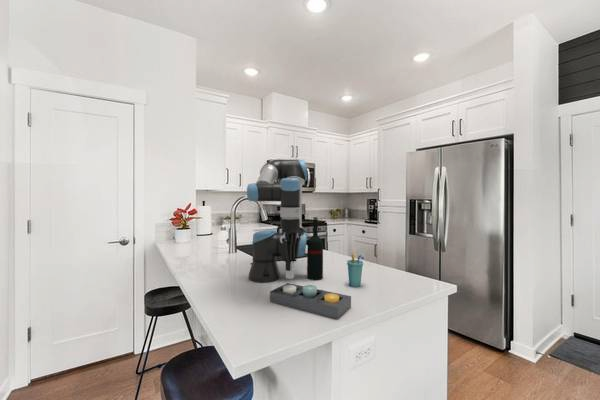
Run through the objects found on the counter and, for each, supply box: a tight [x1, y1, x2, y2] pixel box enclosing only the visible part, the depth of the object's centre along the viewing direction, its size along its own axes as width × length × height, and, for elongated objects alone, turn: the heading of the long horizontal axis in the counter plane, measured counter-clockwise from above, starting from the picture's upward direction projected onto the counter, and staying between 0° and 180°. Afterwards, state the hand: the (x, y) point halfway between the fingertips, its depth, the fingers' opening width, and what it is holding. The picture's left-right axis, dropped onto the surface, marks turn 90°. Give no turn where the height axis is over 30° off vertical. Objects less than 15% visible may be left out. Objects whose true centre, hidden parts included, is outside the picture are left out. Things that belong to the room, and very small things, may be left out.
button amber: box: [324, 293, 339, 303], centre depth 100 cm, size 5×5×4 cm
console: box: [269, 282, 352, 320], centre depth 104 cm, size 28×12×4 cm, turn 59°
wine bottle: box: [306, 216, 324, 281], centre depth 138 cm, size 8×10×30 cm
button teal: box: [302, 284, 318, 298], centre depth 104 cm, size 5×5×4 cm
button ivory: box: [283, 284, 296, 293], centre depth 109 cm, size 5×5×4 cm
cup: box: [346, 252, 365, 288], centre depth 126 cm, size 14×8×15 cm, turn 14°
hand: (289, 277), depth 109 cm, fingers closed
